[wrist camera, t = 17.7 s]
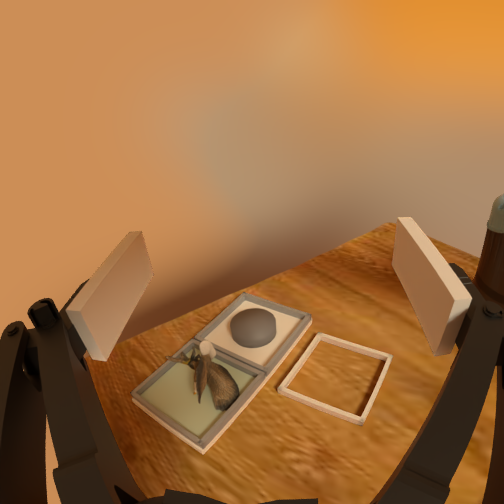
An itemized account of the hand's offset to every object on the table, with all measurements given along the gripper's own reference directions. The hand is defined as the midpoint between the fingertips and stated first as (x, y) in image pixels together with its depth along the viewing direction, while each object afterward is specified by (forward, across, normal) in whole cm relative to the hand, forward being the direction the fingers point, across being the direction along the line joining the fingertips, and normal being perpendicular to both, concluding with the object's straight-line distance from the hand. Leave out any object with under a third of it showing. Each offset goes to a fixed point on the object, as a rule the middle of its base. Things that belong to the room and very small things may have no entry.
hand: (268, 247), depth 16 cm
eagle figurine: (+11, -10, -27) cm, 31 cm away
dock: (+16, -8, -28) cm, 33 cm away
